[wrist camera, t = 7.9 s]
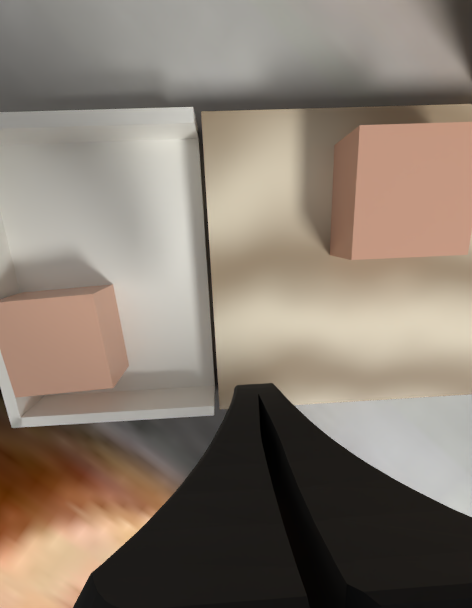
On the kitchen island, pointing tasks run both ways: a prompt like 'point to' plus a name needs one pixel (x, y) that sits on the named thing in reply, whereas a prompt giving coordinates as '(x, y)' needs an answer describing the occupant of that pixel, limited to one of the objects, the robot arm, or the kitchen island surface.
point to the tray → (112, 250)
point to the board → (322, 269)
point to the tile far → (62, 340)
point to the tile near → (402, 191)
